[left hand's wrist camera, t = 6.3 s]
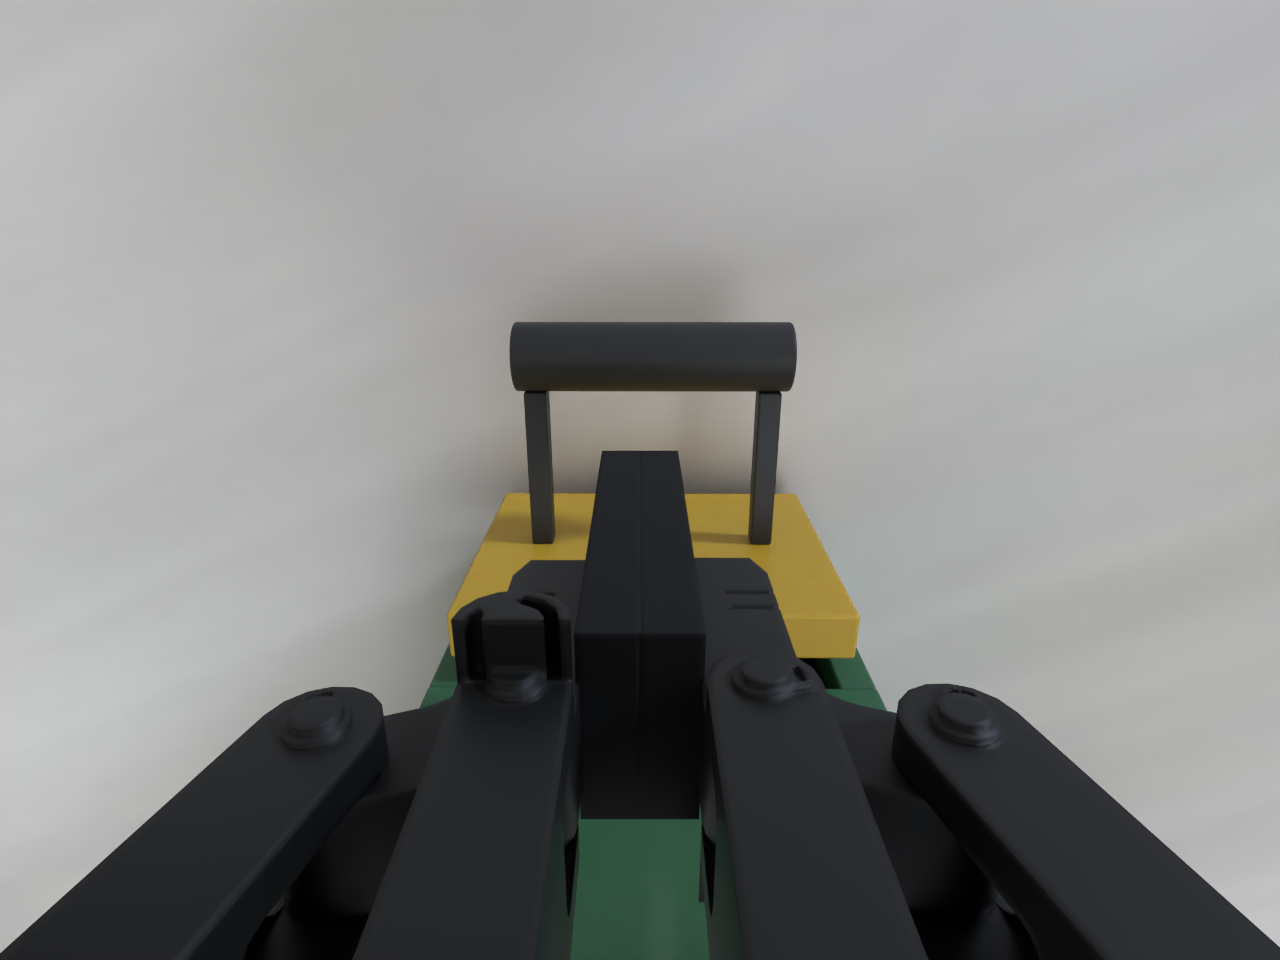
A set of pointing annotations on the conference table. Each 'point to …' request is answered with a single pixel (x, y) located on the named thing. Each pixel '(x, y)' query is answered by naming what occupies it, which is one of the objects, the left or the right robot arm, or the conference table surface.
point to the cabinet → (653, 856)
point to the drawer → (717, 521)
